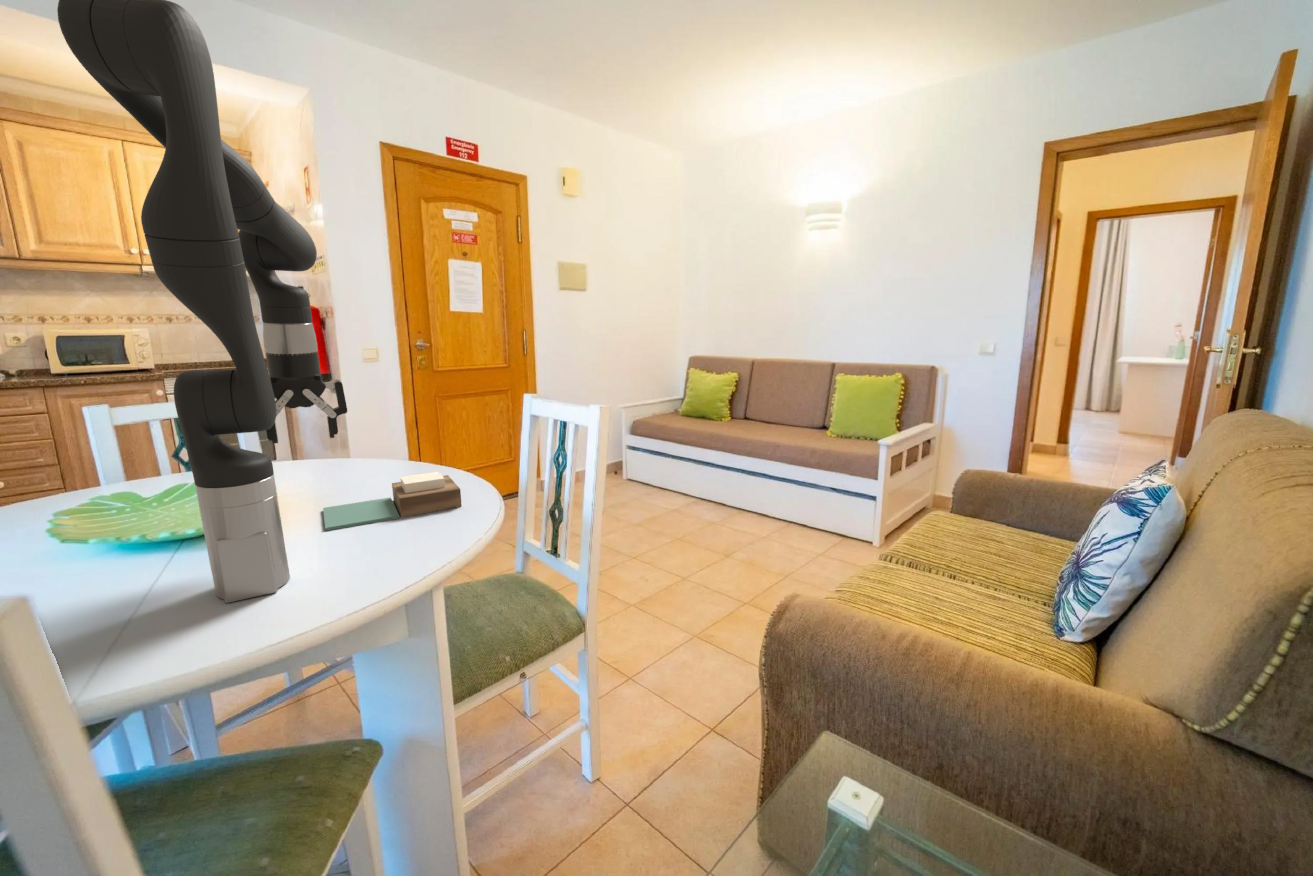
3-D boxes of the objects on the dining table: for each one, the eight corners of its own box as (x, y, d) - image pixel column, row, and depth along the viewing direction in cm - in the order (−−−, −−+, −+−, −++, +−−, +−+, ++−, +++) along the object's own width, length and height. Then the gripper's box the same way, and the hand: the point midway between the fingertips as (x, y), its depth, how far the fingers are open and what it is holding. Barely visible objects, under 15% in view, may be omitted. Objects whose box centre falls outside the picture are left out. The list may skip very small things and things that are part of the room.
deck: (461, 506, 117) (460, 488, 116) (401, 516, 110) (399, 498, 110) (449, 491, 127) (448, 475, 126) (393, 500, 120) (391, 483, 119)
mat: (399, 518, 110) (399, 515, 110) (325, 531, 103) (325, 528, 103) (390, 499, 120) (390, 497, 120) (323, 510, 114) (323, 507, 113)
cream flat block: (445, 487, 117) (444, 478, 117) (405, 493, 113) (404, 484, 112) (439, 480, 122) (438, 471, 122) (401, 485, 118) (400, 476, 117)
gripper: (238, 353, 85) (254, 450, 89) (341, 350, 93) (351, 440, 97) (241, 347, 91) (256, 439, 95) (338, 345, 99) (348, 430, 103)
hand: (304, 439), depth 96 cm, fingers open, 8 cm apart
